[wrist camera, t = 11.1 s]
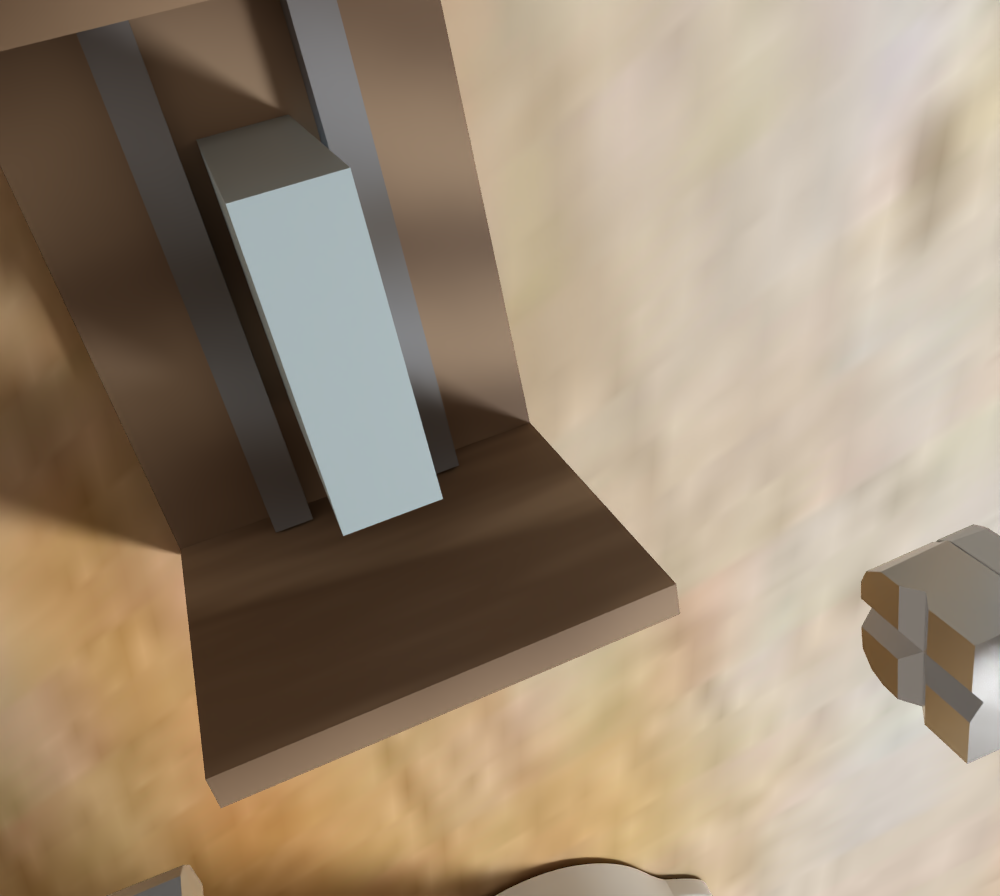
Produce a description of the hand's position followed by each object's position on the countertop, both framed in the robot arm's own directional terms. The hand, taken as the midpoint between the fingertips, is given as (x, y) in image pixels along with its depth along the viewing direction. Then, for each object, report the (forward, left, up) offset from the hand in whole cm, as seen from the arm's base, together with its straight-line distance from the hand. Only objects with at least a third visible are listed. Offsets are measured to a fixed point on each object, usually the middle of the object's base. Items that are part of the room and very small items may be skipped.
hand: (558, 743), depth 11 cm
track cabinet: (0, 0, -21) cm, 21 cm away
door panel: (0, 0, -20) cm, 20 cm away
